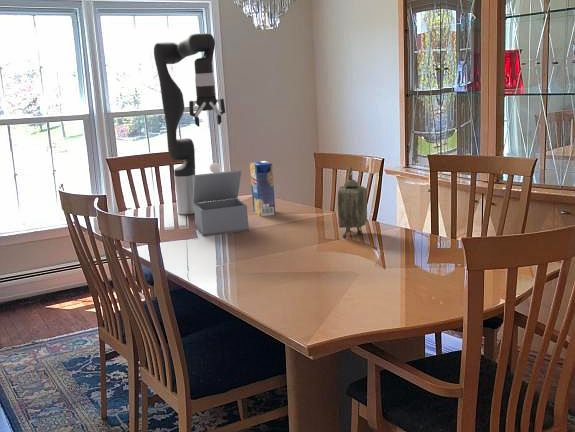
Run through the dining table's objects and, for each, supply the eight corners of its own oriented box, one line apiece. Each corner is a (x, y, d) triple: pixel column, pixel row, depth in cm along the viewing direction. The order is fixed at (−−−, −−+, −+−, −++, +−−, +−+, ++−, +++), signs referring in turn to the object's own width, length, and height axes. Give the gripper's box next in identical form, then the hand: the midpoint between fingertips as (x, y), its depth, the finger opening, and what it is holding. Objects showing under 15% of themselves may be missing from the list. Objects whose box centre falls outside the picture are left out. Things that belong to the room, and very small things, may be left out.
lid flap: (193, 203, 262) (189, 189, 266) (237, 198, 267) (233, 184, 271) (194, 176, 249) (191, 162, 254) (241, 171, 255) (236, 157, 259)
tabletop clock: (343, 229, 246) (341, 164, 241) (367, 229, 244) (365, 163, 239) (339, 239, 232) (336, 170, 227) (364, 239, 230) (362, 170, 225)
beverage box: (268, 209, 289) (264, 160, 284) (275, 214, 279) (272, 163, 274) (253, 211, 287) (249, 162, 282) (260, 216, 277) (256, 165, 272)
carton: (196, 227, 264) (193, 203, 262) (239, 222, 269) (237, 198, 267) (203, 236, 249) (201, 210, 247) (248, 230, 254) (246, 205, 252)
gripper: (220, 83, 266) (223, 123, 270) (186, 86, 262) (189, 126, 266) (224, 83, 259) (227, 124, 263) (189, 86, 255) (192, 127, 259)
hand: (208, 125), depth 264 cm, fingers open, 8 cm apart
